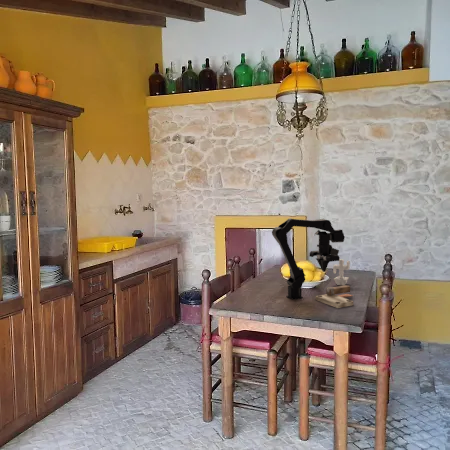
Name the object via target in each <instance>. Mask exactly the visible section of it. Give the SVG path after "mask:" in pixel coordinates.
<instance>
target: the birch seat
mask: <svg viewBox="0 0 450 450" xmlns="http://www.w3.org/2000/svg"><path fill="white" fill-rule="evenodd" d="M315 301H318V302H320V303H322V304H325V305H328V306H331V307H333V308H335V309H340V308H346V307H351V306H354V300H351V299H349V298H347V297H344V298H343V297H340V296H338V294H335V295H327V294H326V293H325V294H319V295H316V296H315Z"/></svg>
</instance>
